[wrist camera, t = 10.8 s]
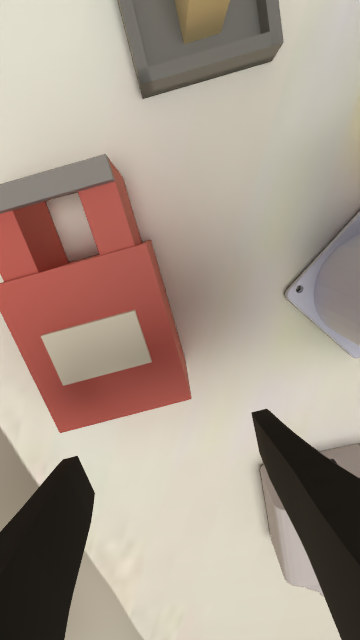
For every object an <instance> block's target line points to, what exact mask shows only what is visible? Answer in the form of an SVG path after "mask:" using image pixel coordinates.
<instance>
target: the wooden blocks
mask: <svg viewBox="0 0 360 640" xmlns="http://www.w3.org/2000/svg"><path fill="white" fill-rule="evenodd" d="M229 2H230V0H175V4H176V9H177V14H178V18H179V23H180V28H181V32H182V37H183V42H184V44H187V43H190V42H193V41H196V40H200V39H203V38H206V37H209V36H213V35H216V34H219V33H221V30H222V26H223V23H224V19H225V16H226V12H227V9H228V5H229Z"/></svg>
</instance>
